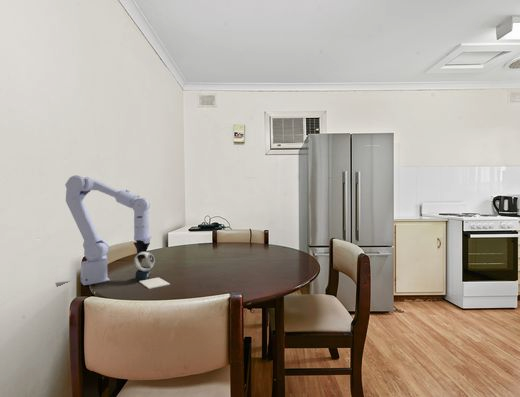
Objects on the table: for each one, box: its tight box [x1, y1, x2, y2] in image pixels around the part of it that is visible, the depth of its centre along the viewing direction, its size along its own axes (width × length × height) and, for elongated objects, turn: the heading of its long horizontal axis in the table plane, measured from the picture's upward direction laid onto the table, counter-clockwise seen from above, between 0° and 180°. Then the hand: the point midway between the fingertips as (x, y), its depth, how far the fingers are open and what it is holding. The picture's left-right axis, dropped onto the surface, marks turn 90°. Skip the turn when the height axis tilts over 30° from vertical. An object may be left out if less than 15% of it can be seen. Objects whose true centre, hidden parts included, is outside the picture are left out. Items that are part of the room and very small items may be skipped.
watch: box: [133, 251, 156, 281], centre depth 116 cm, size 6×8×11 cm
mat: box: [138, 276, 171, 290], centre depth 111 cm, size 8×12×1 cm, turn 40°
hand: (142, 258), depth 118 cm, fingers closed
